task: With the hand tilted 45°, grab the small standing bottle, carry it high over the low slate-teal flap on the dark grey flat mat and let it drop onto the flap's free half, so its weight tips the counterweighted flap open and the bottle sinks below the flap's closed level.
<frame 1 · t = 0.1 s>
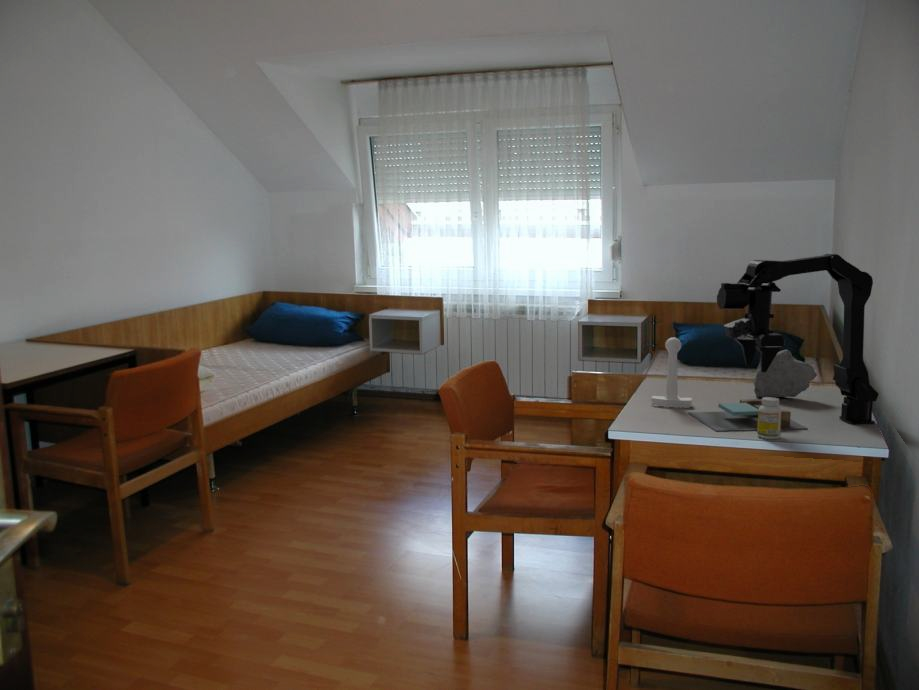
hand: (755, 369, 209), 15 cm above the table, tool pointing down, fingers open, 9 cm apart
joystick: (671, 405, 234), on the table
supplement bottle: (768, 437, 198), on the table
fossil: (783, 399, 241), on the table
dark grey flat mat: (752, 420, 214), on the table
trapdoor: (750, 411, 213), point 3 cm above the table, hinge at 0.0°
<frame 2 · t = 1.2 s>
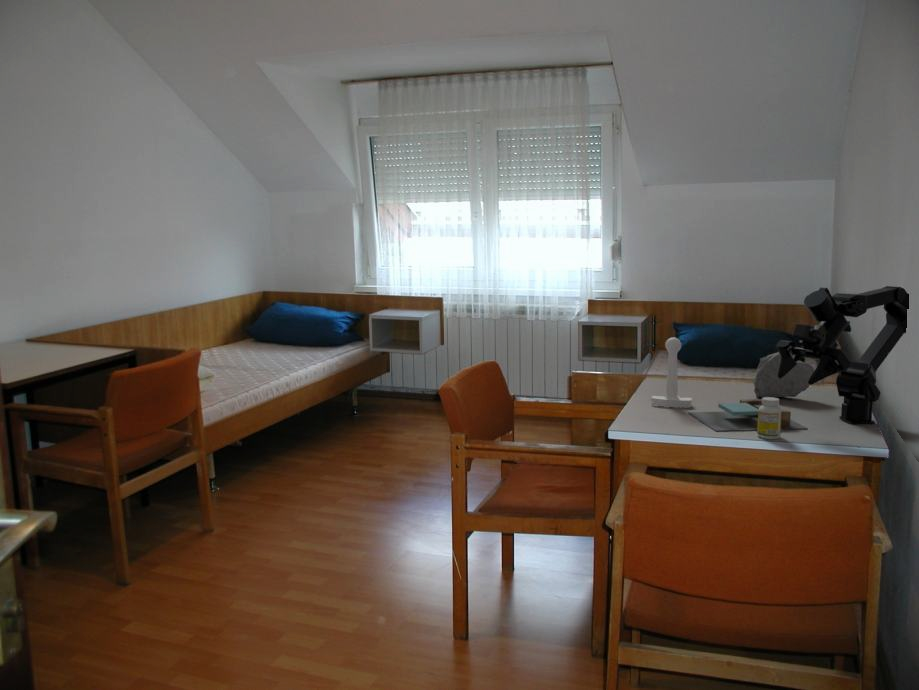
hand: (793, 380, 199), 13 cm above the table, tool tilted 45°, fingers open, 9 cm apart
nothing on the table moved.
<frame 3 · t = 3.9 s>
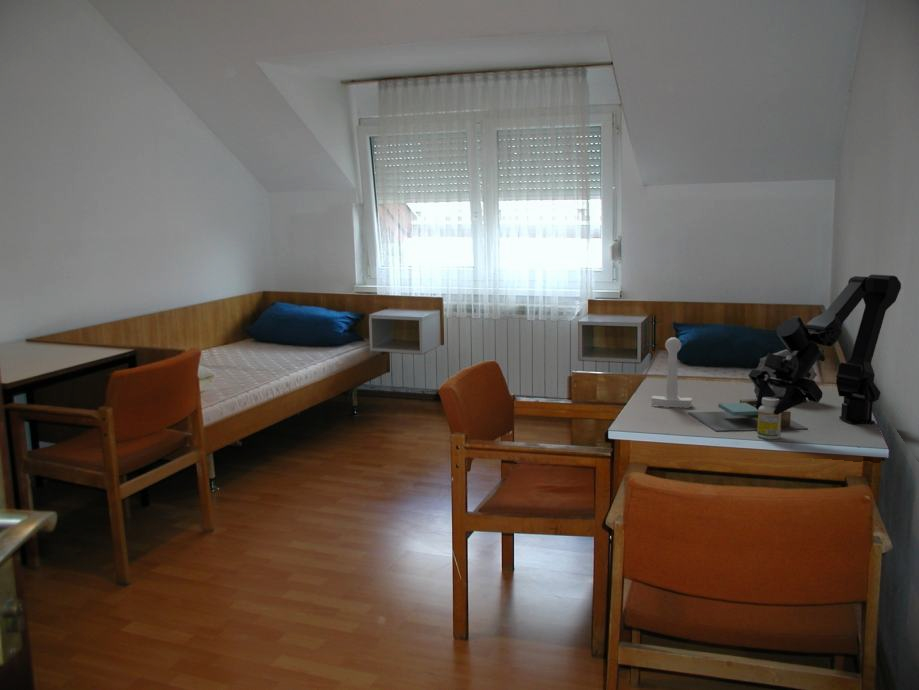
hand: (765, 411, 196), 7 cm above the table, tool tilted 45°, fingers closed on supplement bottle, 5 cm apart
supplement bottle: (768, 437, 198), on the table, touching gripper
everything else where it was.
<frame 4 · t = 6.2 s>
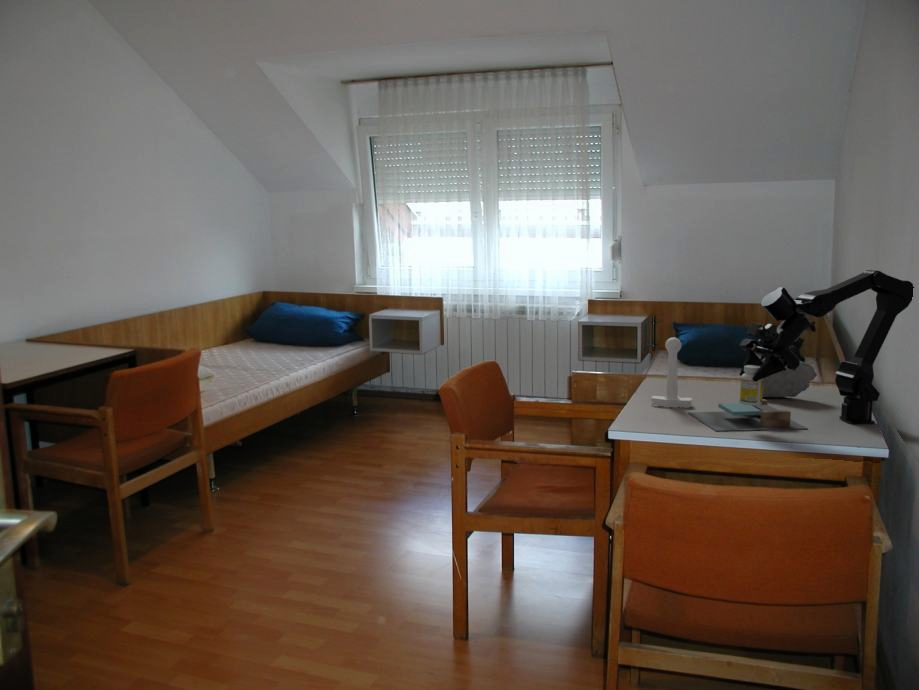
hand: (747, 378, 203), 13 cm above the table, tool tilted 45°, fingers closed on supplement bottle, 5 cm apart
supplement bottle: (751, 404, 205), point 6 cm above the table, touching gripper
everything else where it was.
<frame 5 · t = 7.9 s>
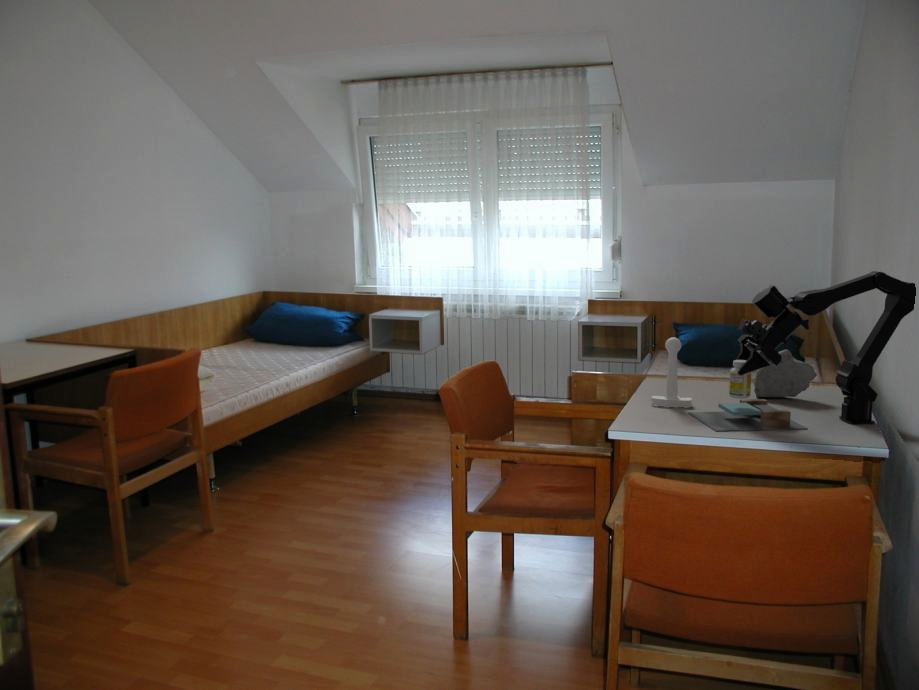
hand: (735, 372, 212), 13 cm above the table, tool tilted 45°, fingers closed on supplement bottle, 5 cm apart
supplement bottle: (739, 397, 213), point 6 cm above the table, touching gripper
everything else where it was.
when the fingers open (13 cm above the table, at t = 8.5 s): supplement bottle drops 4 cm, resting on trapdoor.
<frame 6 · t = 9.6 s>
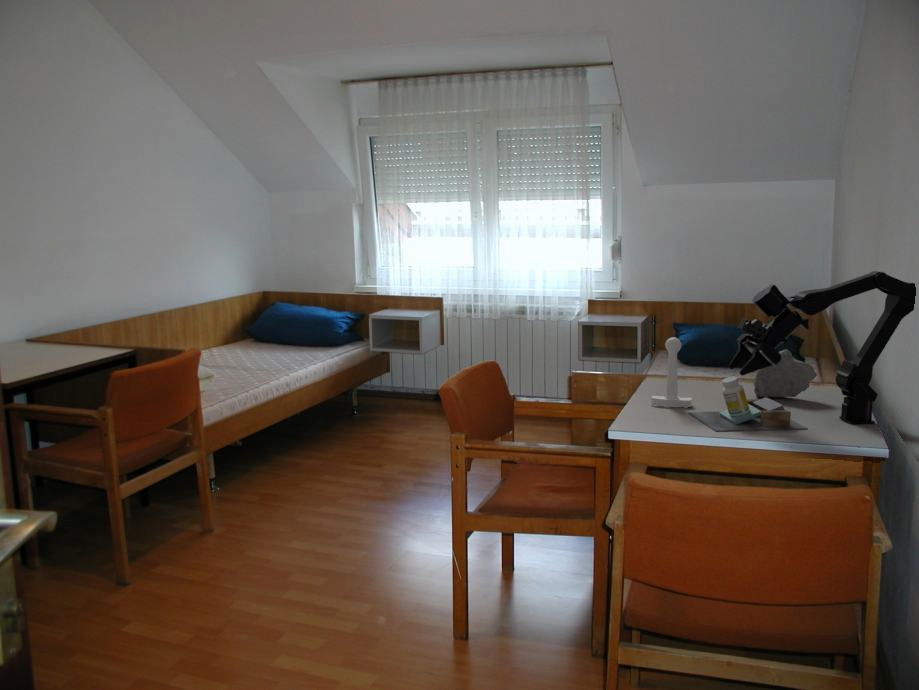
hand: (735, 371, 212), 14 cm above the table, tool tilted 45°, fingers open, 9 cm apart
supplement bottle: (740, 413, 213), point 2 cm above the table, touching trapdoor
trapdoor: (751, 412, 214), point 2 cm above the table, hinge at -19.7°, touching supplement bottle, dark grey flat mat
everything else where it was.
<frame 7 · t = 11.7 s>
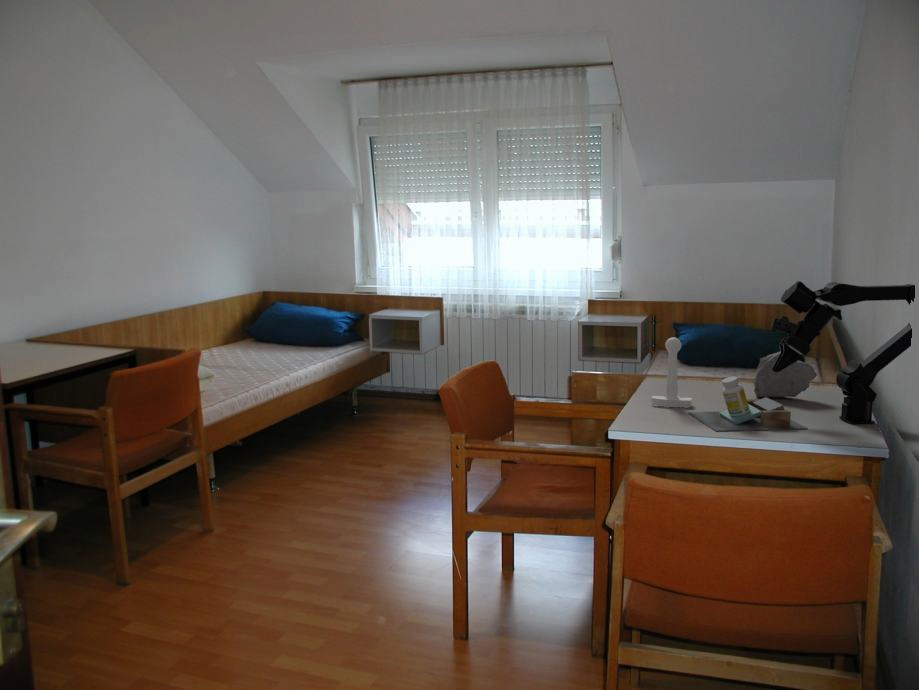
hand: (774, 371, 213), 13 cm above the table, tool tilted 35°, fingers open, 9 cm apart
nothing on the table moved.
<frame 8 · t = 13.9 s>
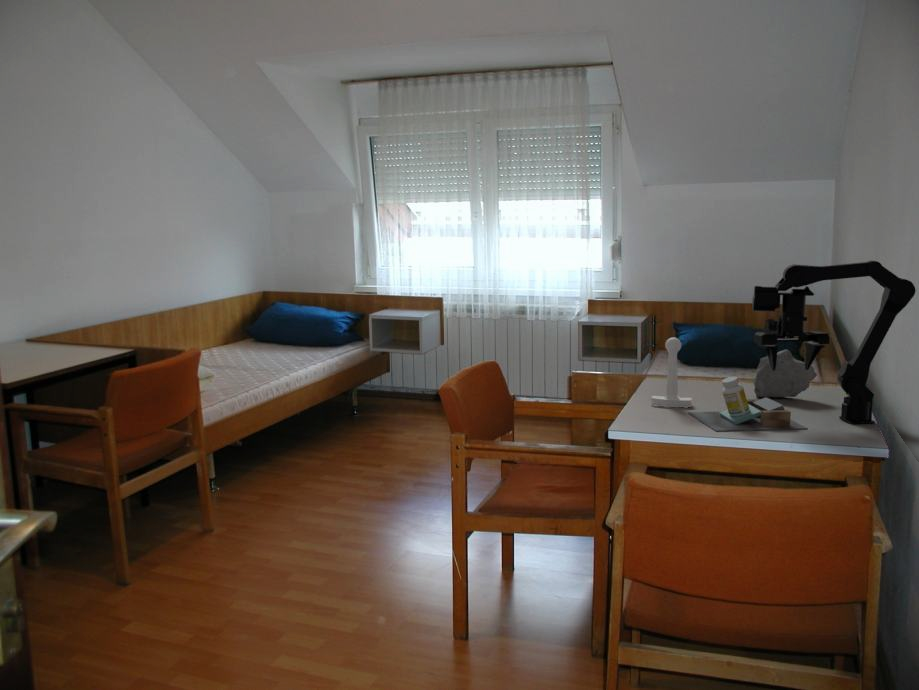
hand: (790, 370, 216), 13 cm above the table, tool pointing down, fingers open, 9 cm apart
nothing on the table moved.
at the end: trapdoor at -20° (first picture: +0°); supplement bottle point 2.3 cm above the table; supplement bottle inside the target area on the dark grey flat mat (4.2 cm from its centre), point 2.3 cm above the dark grey flat mat's base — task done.
